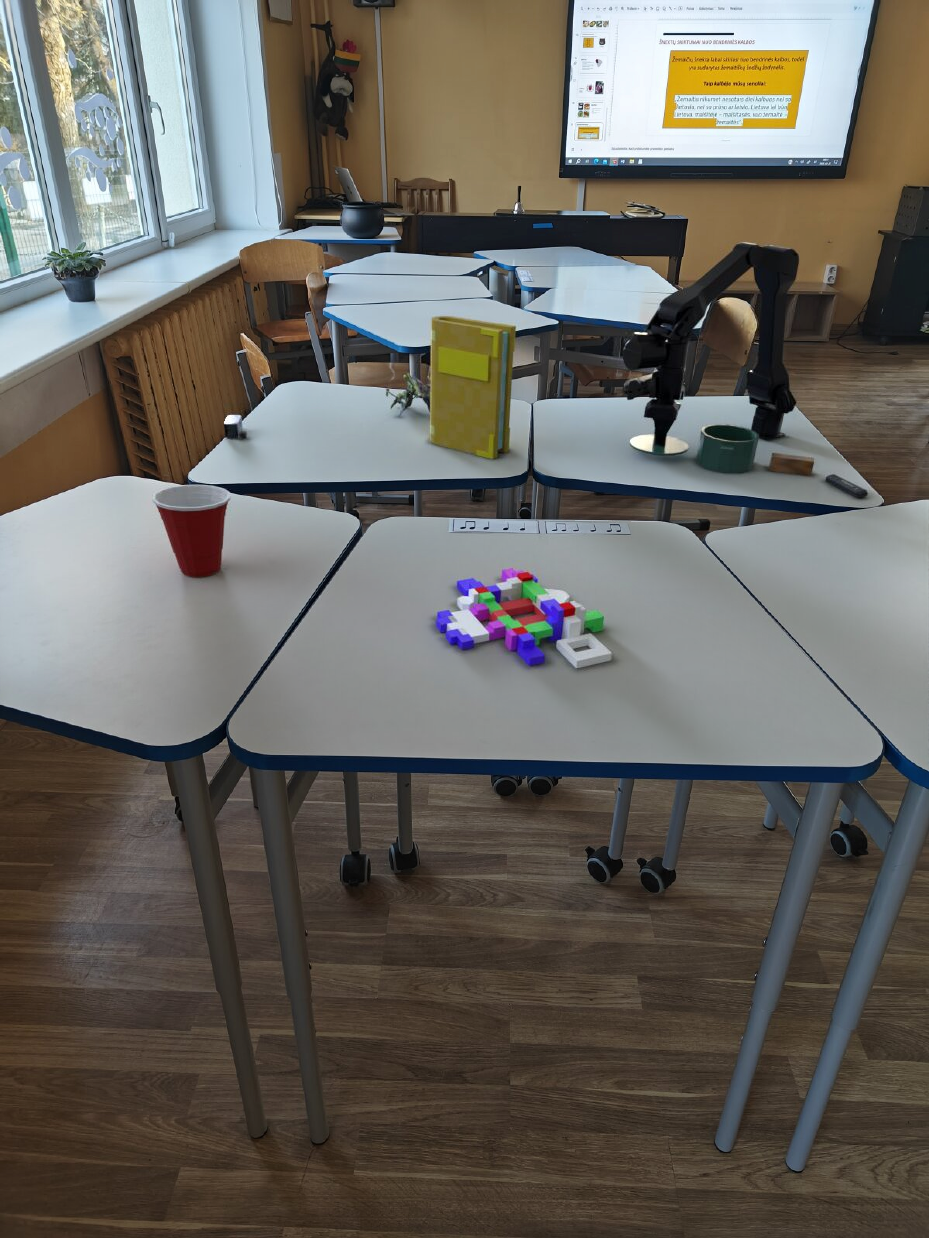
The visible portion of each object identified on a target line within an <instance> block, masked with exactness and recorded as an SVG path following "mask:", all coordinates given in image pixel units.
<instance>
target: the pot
mask: <svg viewBox="0 0 929 1238" xmlns="http://www.w3.org/2000/svg"><path fill="white" fill-rule="evenodd" d="M750 429H751V428H748V427H743V426H740V425H736V424H728V423H723V424H722V423H721V424H718V423H717V424H710V425H709V424H708V425H705V426H703V427H701V430H700V435H699V440H698V445H697V452H696V458H695V463H696V464H697V465H699V466H700V467H702V468H704V469H706V470H709V471H714V472H718V473H723V474H724V473H725V474H741V473H747V472H749V471H751V470H752V469H753V467H754V462H755V458H756V453H757V449H758V443H759V439H760V438H759V434H757V433H756V432H755V431H753V430H750Z"/></svg>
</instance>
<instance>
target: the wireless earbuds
mask: <svg viewBox="0 0 929 1238" xmlns="http://www.w3.org/2000/svg"><path fill="white" fill-rule="evenodd" d="M242 418H243V417H242V415H240V414H229V415H227V417H226V418H225V421H224V422H223V429H224V430H223V431H224V437H225V438H226V439H232V440H233V439H238V438H240V439H241V440H246V439H247V437H248V436H247V435H248V432H247V431H245V430H243V429H244V428H243V419H242Z"/></svg>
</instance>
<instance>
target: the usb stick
mask: <svg viewBox="0 0 929 1238" xmlns="http://www.w3.org/2000/svg"><path fill="white" fill-rule="evenodd" d="M825 482H827V483H829V484H830V485H832V486H834V487H836V488H838V489H840V490H842V491H844V492H846V493H848V494H849V495H852V496H854V497H856V498H859V499H861V498H866V497H867V496H868V494H869V492H868V490H867V489H865V488H864V487H861V486H859V485H857V484H855V483H853V482H851V481H849V480H848V479H845V478H843V477H841V476H839V475H837V474H835V473H832V474H829V475H827V476H826V477H825Z"/></svg>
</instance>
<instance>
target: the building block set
mask: <svg viewBox="0 0 929 1238" xmlns="http://www.w3.org/2000/svg"><path fill="white" fill-rule="evenodd" d="M501 581H502V582H497V583H495V584H493V585H488V586H485V585H484V584H483V583H482V581H480V580H479V581H477V580H476V579H475V578H474V577H471V578H465V579H459V580H457V581H456V589H457V590H458V591H459V592H460V593H461V594H462V595H461V596H459V597H457V600H456V606H457V607H458V608H459V609H460V610H458V611H453V612H452V611H451V610H449V609H446V610H441V611H437V612H436V613H437V614H436V620H435V621H436V622H435V627H436V629H438V631H439V632H440V633H444V632H445V640H446V641H447V642H448V644H449V645H457V646H458V647H459V648H460V650H462V651H463V650H468V649H473V648H475V647H474V646H475V644H479V643H485V642H488V641H489V642H490V641H494V640H498V639H502V638H505V640H504V641H505V642H504V645H505V646H506V648H507V649H508V650H509V651H510V652H513V651H517V652H516V653H517V655H518V656H519V657H520V658H521V659H522V660H523V661H524V663H526V665H527V666H528V667H531V666H535V665H540V664H544V663H545V661H546V654H545V653H544V652H543V651H542V650H541V649H540V648H539V647H538V646H540V642H541V641H540V639H543V638H545V639H547V640H548V641H549V642H550V643H552V642H556V646H555V648H556V650H557V651H558V652H559V653H560V654H561V655H562V656H563V657H564V658H565V659H566V660H567V661H568V662H569V663H571V665H572V666H573V667H574V668H575V669H581V668H585V667H589V666H593V665H598V664H603V663H606V662H611V661H612V655H613V653H612V652H611V651H610V650H609V648H607V647H606V646H605V645H604V644H603V643H602V642H601V641H600V640H599V639H597V638H596V637H595V635H594V634H592V633H597V632H602V631H603V629H604V621H605V620H604V618H605V616H604V615H603V614H602V613H601V612H600V611H599V610H594V609H593V610H589V611H587V608H586V607H584V605H582V604H581V603H580V602H577V601H576V600H572V601H570V597H571V596H570V595H569V594H568V593H567V592H566V591H565V590H561V589H560V590H559V589H554V588H544V587H543V586H541V585H540V584H539V579H538V578H537V577H536V576H535V575H534V574H533V573H532V574H531V573H530V572H529V571H524V570H523V569H520V570H515V569H514V568H513V567H512V568H505V569H501ZM505 597H506V598H507V599H508V601H503V602H501V599H502V598H505ZM528 613H534V615H529V616H525V617H520V618H515V619H513V618H512V617H514V616H518V615H524V614H528ZM486 620H489V622H488V625H486V626H484V625H483V624H482V623H481V622H482V621H486ZM585 629H588V630H590V632H591V633H586V634H584V632H585V631H584V630H585ZM587 646H588V647H589V649H584V650H581V651H575V649H578V648H582V647H587Z"/></svg>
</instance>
